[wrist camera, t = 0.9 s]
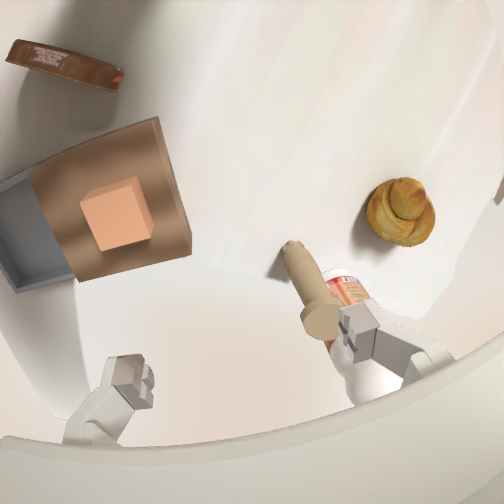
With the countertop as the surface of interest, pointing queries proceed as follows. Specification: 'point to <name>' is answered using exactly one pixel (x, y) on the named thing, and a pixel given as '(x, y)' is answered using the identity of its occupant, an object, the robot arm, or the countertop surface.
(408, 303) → the countertop surface
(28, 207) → the box
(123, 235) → the terracotta block
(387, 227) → the bread roll
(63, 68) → the tin
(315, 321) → the handle
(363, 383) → the fruit juice
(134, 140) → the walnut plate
